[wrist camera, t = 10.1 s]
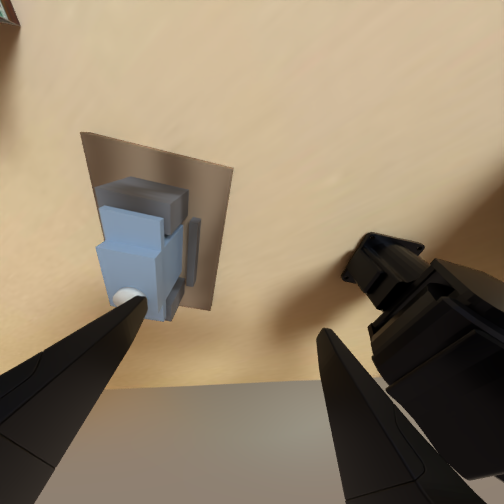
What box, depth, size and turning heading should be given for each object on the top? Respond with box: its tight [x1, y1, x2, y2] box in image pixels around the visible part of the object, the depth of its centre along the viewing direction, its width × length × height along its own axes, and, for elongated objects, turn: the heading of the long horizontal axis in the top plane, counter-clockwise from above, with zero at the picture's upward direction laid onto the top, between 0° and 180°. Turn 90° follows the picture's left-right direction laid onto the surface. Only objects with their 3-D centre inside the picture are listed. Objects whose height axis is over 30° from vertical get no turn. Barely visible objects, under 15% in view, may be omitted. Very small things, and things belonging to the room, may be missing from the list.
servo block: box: [96, 206, 183, 322], centre depth 17 cm, size 4×11×7 cm, turn 167°
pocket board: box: [80, 132, 233, 321], centre depth 18 cm, size 12×18×5 cm, turn 167°
